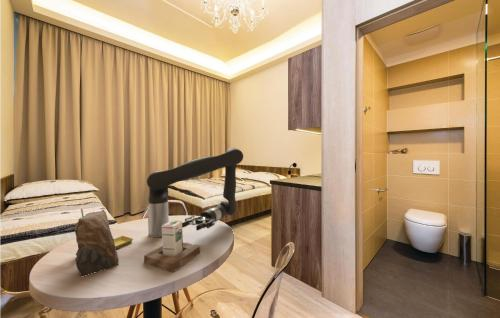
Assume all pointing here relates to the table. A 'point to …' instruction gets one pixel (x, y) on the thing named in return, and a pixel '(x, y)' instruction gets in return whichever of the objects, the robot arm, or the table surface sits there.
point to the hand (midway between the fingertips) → (189, 226)
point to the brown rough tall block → (95, 244)
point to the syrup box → (172, 238)
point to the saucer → (122, 241)
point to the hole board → (168, 262)
